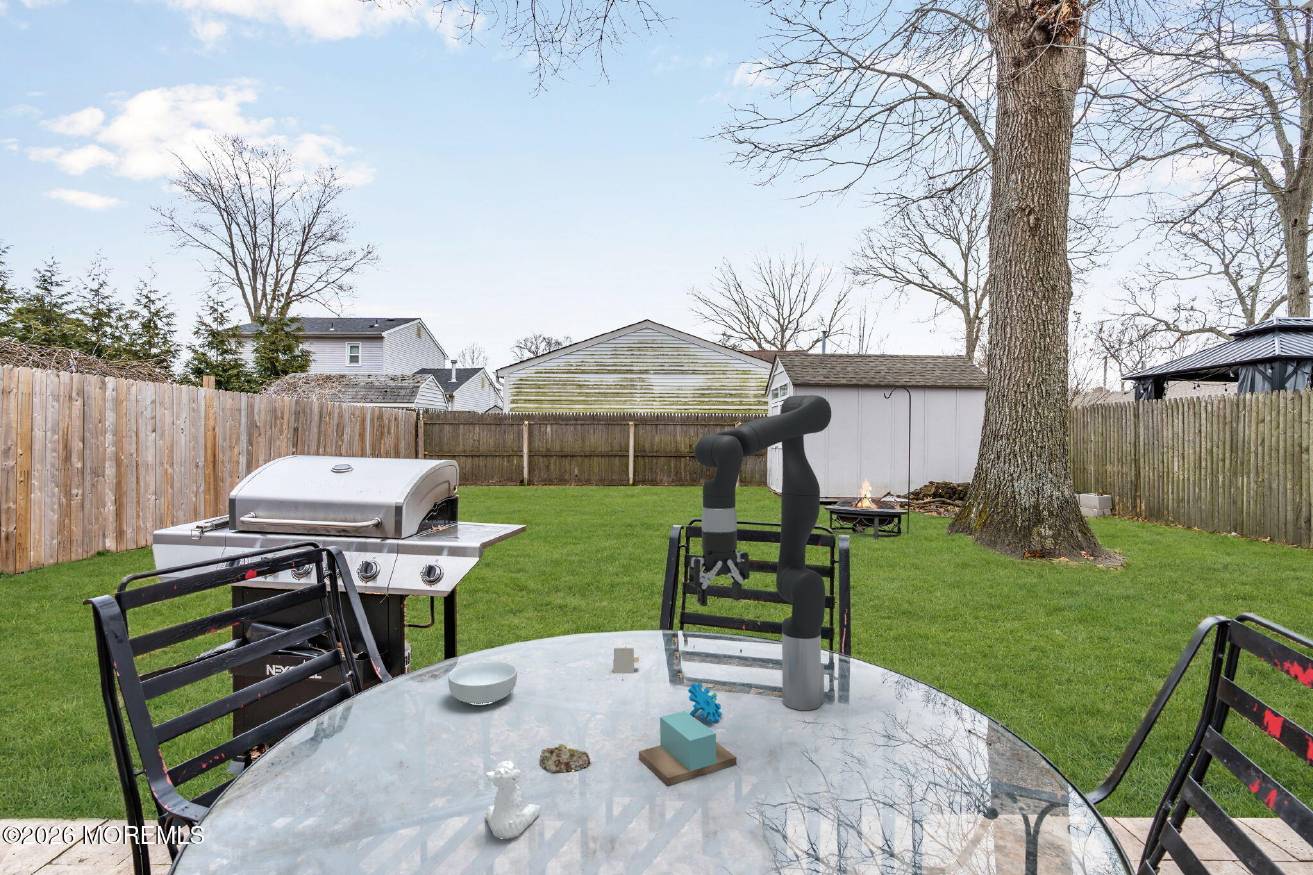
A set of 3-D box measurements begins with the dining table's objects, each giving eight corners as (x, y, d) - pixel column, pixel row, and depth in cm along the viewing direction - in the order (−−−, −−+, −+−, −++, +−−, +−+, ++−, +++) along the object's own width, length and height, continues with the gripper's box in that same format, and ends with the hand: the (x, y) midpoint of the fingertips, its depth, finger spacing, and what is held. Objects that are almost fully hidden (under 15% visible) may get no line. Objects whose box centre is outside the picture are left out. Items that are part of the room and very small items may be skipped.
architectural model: (614, 670, 188) (614, 644, 188) (639, 670, 188) (638, 644, 188) (613, 674, 185) (613, 648, 185) (638, 675, 184) (638, 648, 184)
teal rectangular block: (684, 738, 143) (684, 710, 143) (716, 763, 133) (715, 733, 133) (660, 745, 140) (660, 716, 140) (690, 771, 130) (690, 740, 130)
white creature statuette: (541, 813, 119) (540, 746, 119) (534, 843, 111) (533, 771, 110) (487, 814, 119) (486, 747, 119) (476, 845, 110) (475, 773, 110)
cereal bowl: (508, 714, 159) (507, 685, 159) (439, 714, 160) (438, 685, 160) (523, 686, 176) (523, 659, 176) (461, 686, 177) (460, 659, 177)
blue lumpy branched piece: (711, 724, 149) (685, 685, 154) (693, 739, 151) (668, 700, 156) (732, 712, 159) (707, 676, 163) (715, 726, 161) (691, 690, 165)
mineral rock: (531, 762, 133) (545, 733, 140) (533, 780, 134) (547, 750, 142) (584, 769, 131) (595, 739, 138) (585, 786, 132) (596, 756, 140)
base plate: (704, 739, 146) (703, 719, 146) (736, 764, 135) (736, 742, 135) (638, 758, 138) (638, 736, 138) (667, 785, 127) (667, 762, 127)
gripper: (736, 522, 151) (736, 594, 151) (681, 528, 144) (682, 603, 144) (756, 527, 144) (756, 602, 145) (700, 533, 137) (701, 611, 138)
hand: (719, 602), depth 145 cm, fingers open, 8 cm apart
